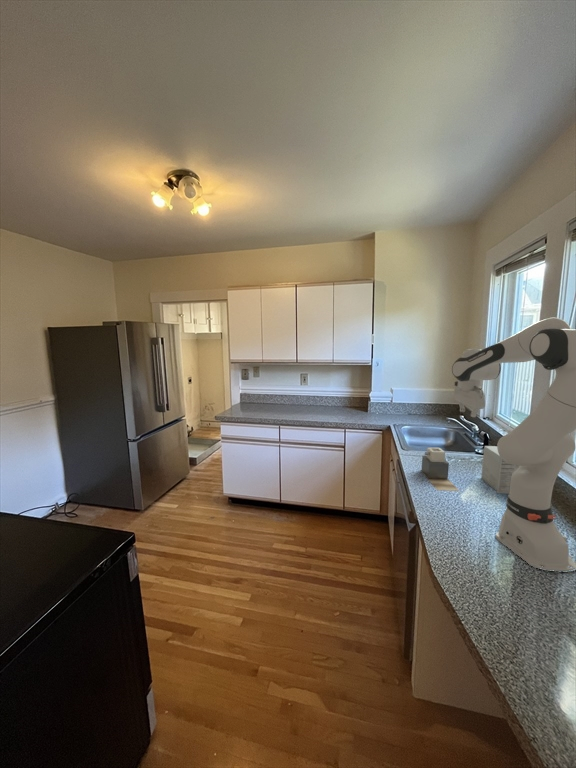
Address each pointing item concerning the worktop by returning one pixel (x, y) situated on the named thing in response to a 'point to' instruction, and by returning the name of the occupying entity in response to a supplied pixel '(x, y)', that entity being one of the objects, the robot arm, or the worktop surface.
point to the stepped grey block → (434, 469)
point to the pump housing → (435, 454)
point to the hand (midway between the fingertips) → (467, 414)
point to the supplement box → (496, 470)
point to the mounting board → (442, 484)
